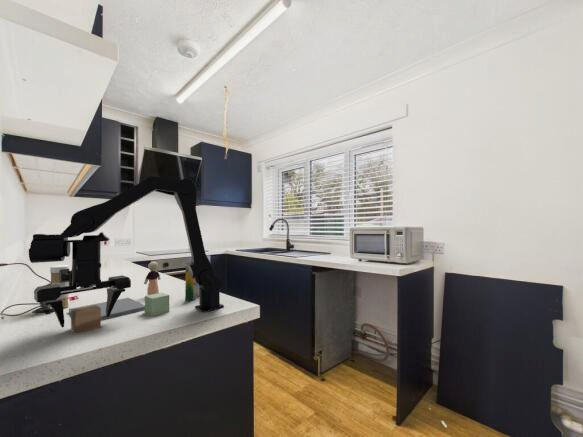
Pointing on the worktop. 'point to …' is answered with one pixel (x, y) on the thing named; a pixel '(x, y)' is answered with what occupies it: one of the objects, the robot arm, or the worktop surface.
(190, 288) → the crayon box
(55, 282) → the sprinkles bottle
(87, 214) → the robot arm
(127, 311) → the baseplate
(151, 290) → the grandmother figurine
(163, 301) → the sage brick
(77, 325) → the brown wooden cube
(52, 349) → the worktop surface
